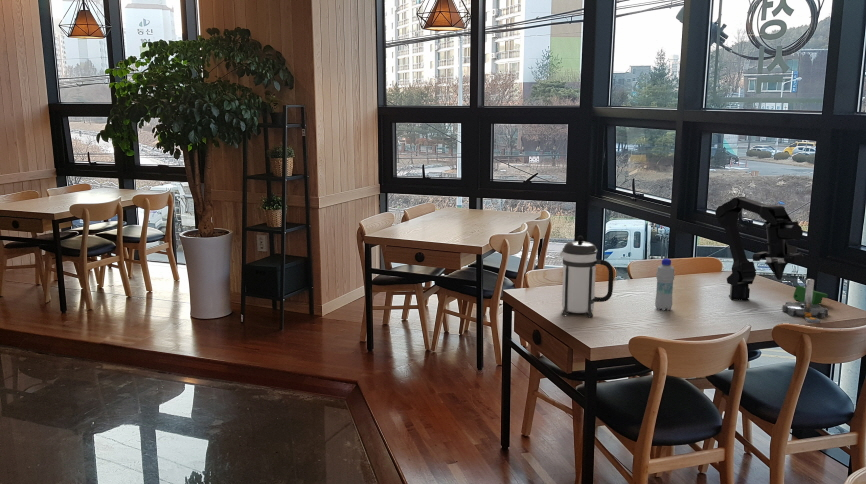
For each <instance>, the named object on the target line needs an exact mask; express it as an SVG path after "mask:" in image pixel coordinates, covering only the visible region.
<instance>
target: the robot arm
mask: <svg viewBox="0 0 866 484" xmlns="http://www.w3.org/2000/svg"><path fill="white" fill-rule="evenodd" d="M743 210H745V211H748V212H749V213H750V212H751V213H753V214H756V215H758V216H759V217H760V218H761V219H762V220H764V221H765V222H764V223H763V224H762V225H761V228H766V229H765V230H766V239H767V242H765V246H767V248H768V251H760V252H755V253H753V254H752V261H751V260H749V259H748V258H747V256H746V252H745V248H744V244H743V241H742V238H741V234H740V231H739V227H738V222H739V220H740V215H739V214H740V213H742V211H743ZM714 214H715V217H716V220H717V222H718V223H719V224H720V225H721V227H723V229H724V232H725V236H726V240H727V244H728V245H729V246H728V247H729V250H730V253H731V257H732V260H733V263H732V266H731V272H732V273H731V274H730V275H728V276H727V277H726V283H727V285H730V288H729V294H728V297H729V299H730V300H731V301H746V302H748V301H749V299H750V293H751V292H750V291H751V289H750V286H749V285H753V283H754V280H755V278H756V276H757V269H756V267H755V263H754V262H760V261H761V260H766V261H765V262H764V264H766V265H767V266H768V268H769V269H770V270H771V272H772V273H773V275H774V276H775V278H776V279H777V280H778V281H781V280H783V279H782V278H783V275H784V271H785V268H786V267H787V265H789V264H796V263H801V262H804V261H805V256H804V255H803V254H802V253H797V250H798V246H795V245H791V244H788V241H799V240H801V238H802V237H803V236H804V235H803V234H804V230H803V229H802V226H801V225H799V221H793V220H792V219H791V217H790V216H789V214H788V213H787V211H786V207H784V206H783V205H779V204H778V205H777V204H765V203H761V202H759V201H756V200H753V199H750V198H748V197H746V196H735V197H733V198H731V199H730V200H728V201H727V202H724V203H722V204H721V205H719V206H717V208H716V210H715V213H714Z"/></svg>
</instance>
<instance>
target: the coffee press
mask: <svg viewBox="0 0 866 484" xmlns="http://www.w3.org/2000/svg"><path fill="white" fill-rule="evenodd" d="M576 239H577V240H574V241H569V242H567V243H565V244H564V247H563V248H562V250H561V252H560V253H559V254H558V257H562V287H561V289H562V291H561V293H562V294H561V307H562V308H563V310H562V312H561V315H562V316H563V315H567V316H568V315H569V314H570V313H572V314H585V315H586V316H587V317H588V316H590V318H593V317H594V314H593V312H592V311H593V310H594V308H595V303H603V302H607V301H609V300H610V299H611V297H612V296H613V290H614V269H613V266H612V264H611V263H610V262H609V261H608V260H604V259H597V254H598V248H597V246H596V245H595V244H594V243H592V242H589V241H585V240H584V239H585V238H584V237H583V235H578V236H577V237H576ZM597 265H601V266H605V267H606V268H607V271H608V282H607V283H608V284H607V293H606V295H605V296H602V297H601V296H595V294H596V293H595V292H596V290H595V289H596V271H597V270H596V266H597Z"/></svg>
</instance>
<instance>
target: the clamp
mask: <svg viewBox="0 0 866 484" xmlns="http://www.w3.org/2000/svg"><path fill="white" fill-rule="evenodd" d="M795 286H796V287H795V290H794V293H793V299H794V300H795V301H797V302H805V292H806V286H801V285H795ZM823 298H824V299H828V294H827V293H825V292H821V291H820V292H819V291H818V290H817V291H816V290H815V288H813V296H812V304H818V305H820V304H819V303H822V301H823Z"/></svg>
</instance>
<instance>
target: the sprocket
mask: <svg viewBox="0 0 866 484" xmlns="http://www.w3.org/2000/svg"><path fill="white" fill-rule="evenodd" d="M805 284H806V286H805V287H806V292H805V302H801V301H796V302H792V301H787V302H785V304H782V306H781V310H782V312H786V313H787V314H788V315H789V316H791V317H792V316H793V317H794V316H796V317H802V318H804V319H805V318H810V317H813V318H818V319H824V318H826V316H827V315H828V314H829V309H828V308H827V307H823V306H822V305H821V304H812V296H813V289H814V287H815V286H814V285H815V279H813V278H806V283H805ZM825 314H827V315H825Z"/></svg>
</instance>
